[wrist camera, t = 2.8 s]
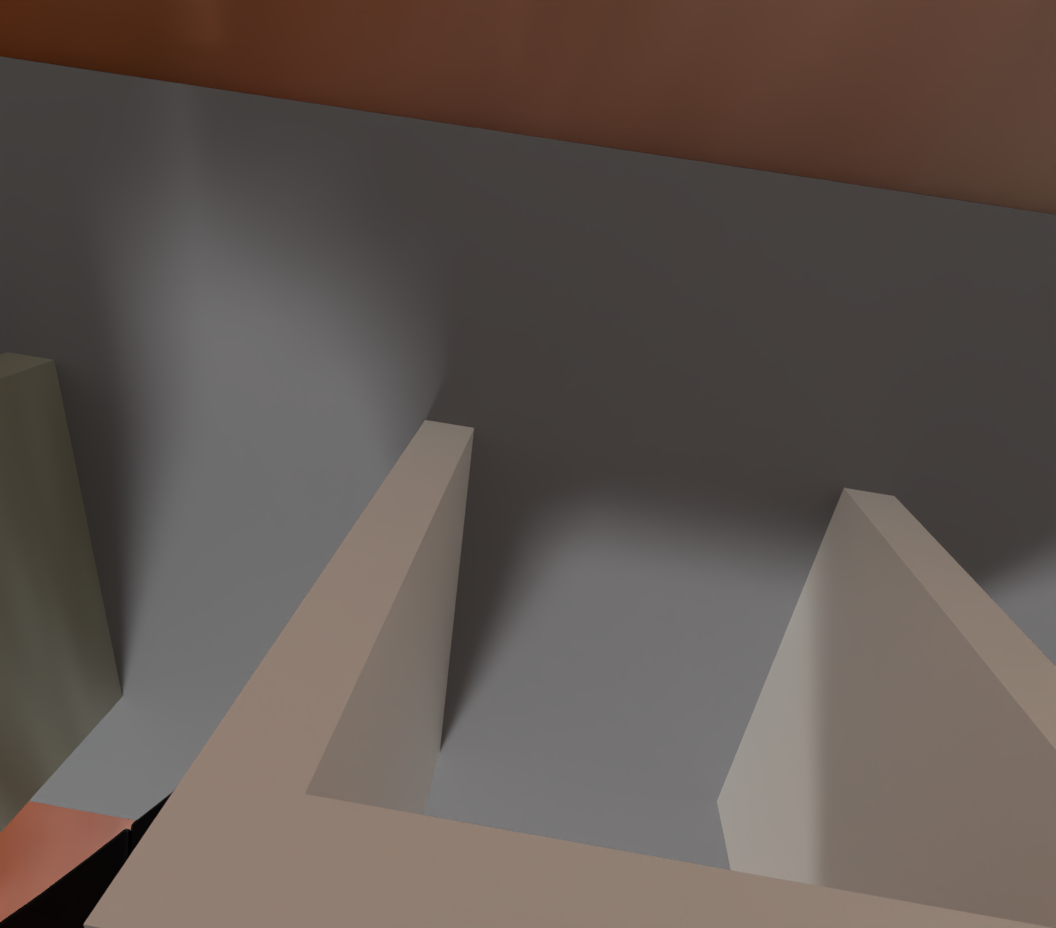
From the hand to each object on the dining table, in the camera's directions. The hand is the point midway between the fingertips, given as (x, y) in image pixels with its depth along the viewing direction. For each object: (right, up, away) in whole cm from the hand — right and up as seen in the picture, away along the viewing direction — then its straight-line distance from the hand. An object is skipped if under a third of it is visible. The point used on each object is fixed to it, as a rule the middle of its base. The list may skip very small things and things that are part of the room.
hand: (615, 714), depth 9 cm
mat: (-6, +2, +2) cm, 6 cm away
